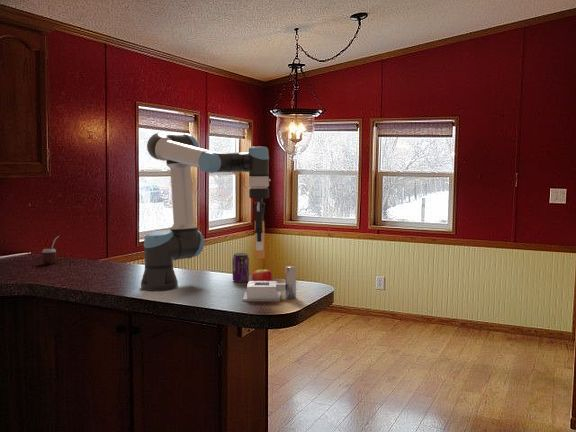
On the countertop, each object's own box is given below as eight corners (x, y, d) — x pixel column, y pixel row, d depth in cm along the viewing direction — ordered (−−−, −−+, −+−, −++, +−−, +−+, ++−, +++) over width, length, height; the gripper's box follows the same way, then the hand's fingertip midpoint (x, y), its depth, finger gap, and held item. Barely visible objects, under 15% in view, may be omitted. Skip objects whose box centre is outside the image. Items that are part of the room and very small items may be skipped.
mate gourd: (40, 264, 310) (38, 235, 309) (55, 262, 315) (54, 234, 314) (45, 266, 304) (44, 236, 303) (61, 264, 310) (60, 235, 308)
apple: (264, 290, 245) (264, 266, 244) (247, 288, 249) (247, 264, 248) (275, 287, 252) (275, 263, 251) (259, 285, 256) (259, 261, 255)
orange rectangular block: (254, 258, 228) (254, 221, 226) (255, 257, 231) (255, 220, 230) (264, 258, 227) (263, 221, 226) (264, 257, 231) (264, 220, 230)
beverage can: (246, 283, 260) (246, 255, 259) (230, 282, 262) (230, 255, 261) (250, 279, 267) (250, 253, 266) (235, 279, 268) (235, 252, 267)
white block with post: (242, 301, 225) (242, 269, 224) (245, 294, 237) (244, 264, 236) (296, 301, 225) (296, 269, 224) (295, 294, 237) (295, 264, 236)
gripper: (267, 188, 219) (268, 252, 221) (270, 186, 235) (270, 246, 237) (247, 188, 219) (248, 252, 221) (251, 187, 236) (251, 246, 237)
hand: (259, 249), depth 229 cm, fingers closed on orange rectangular block, 3 cm apart
